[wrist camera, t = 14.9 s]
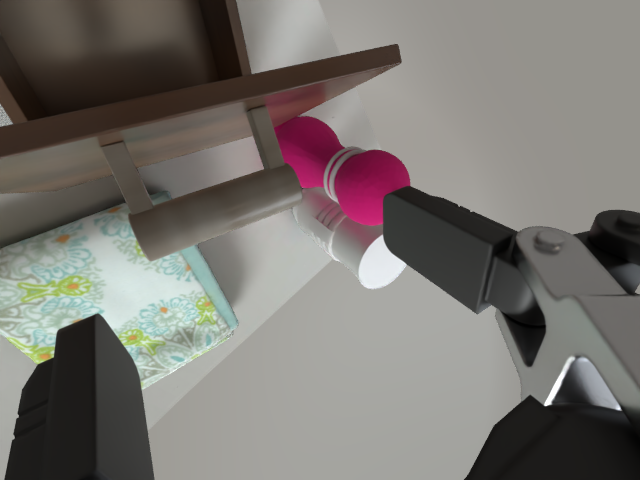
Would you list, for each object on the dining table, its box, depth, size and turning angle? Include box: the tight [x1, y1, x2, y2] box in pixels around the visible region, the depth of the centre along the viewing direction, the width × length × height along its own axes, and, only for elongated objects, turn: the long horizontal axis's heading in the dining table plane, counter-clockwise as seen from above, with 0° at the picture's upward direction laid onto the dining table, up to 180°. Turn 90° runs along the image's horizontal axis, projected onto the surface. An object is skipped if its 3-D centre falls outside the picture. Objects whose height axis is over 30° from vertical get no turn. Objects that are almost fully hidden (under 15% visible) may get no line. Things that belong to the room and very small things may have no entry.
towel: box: [0, 190, 238, 390], centre depth 35 cm, size 18×21×5 cm
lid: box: [0, 44, 402, 262], centre depth 18 cm, size 17×16×5 cm
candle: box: [292, 187, 406, 289], centre depth 39 cm, size 7×7×15 cm
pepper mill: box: [274, 116, 410, 226], centre depth 31 cm, size 7×7×20 cm
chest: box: [0, 0, 251, 124], centre depth 23 cm, size 17×16×8 cm
